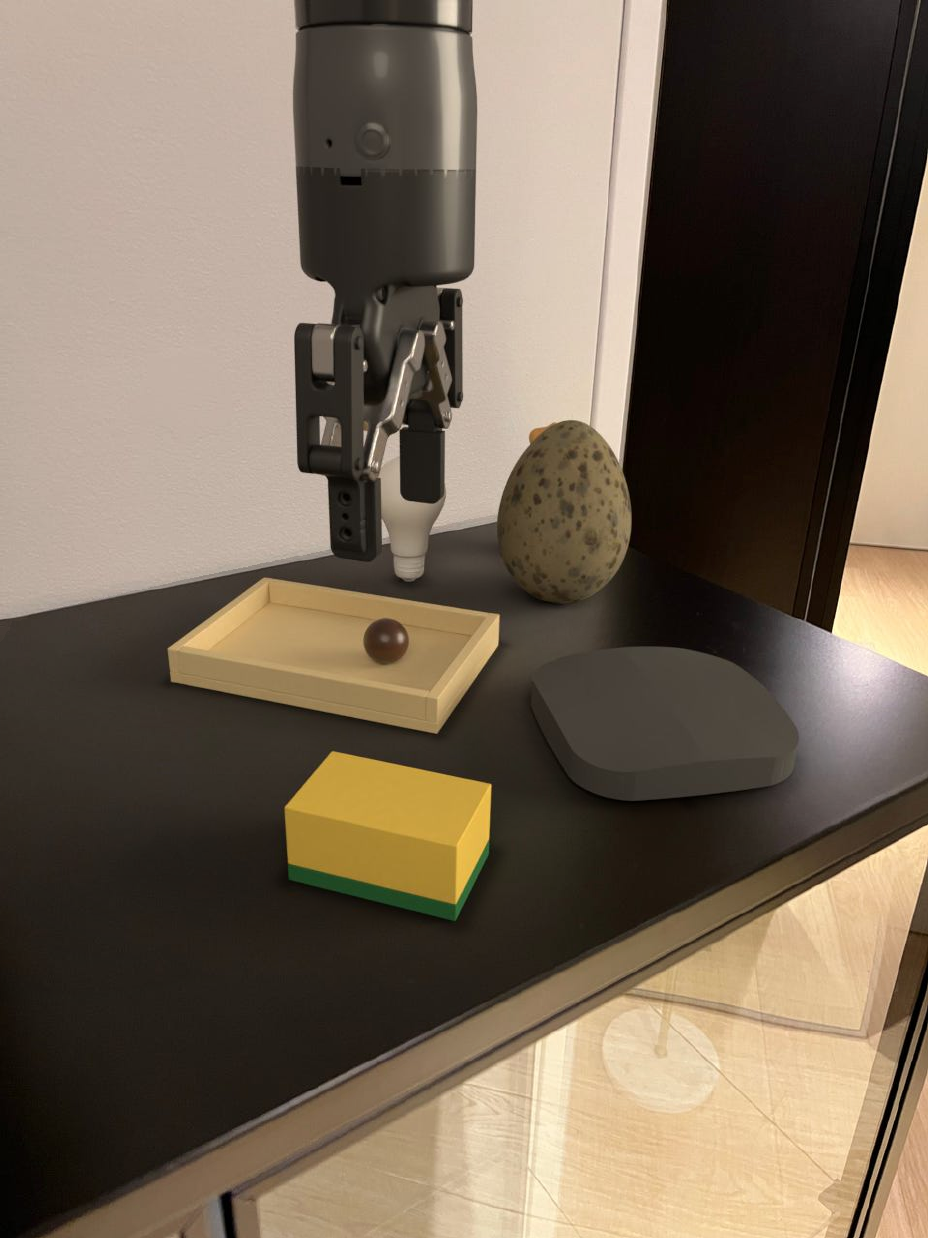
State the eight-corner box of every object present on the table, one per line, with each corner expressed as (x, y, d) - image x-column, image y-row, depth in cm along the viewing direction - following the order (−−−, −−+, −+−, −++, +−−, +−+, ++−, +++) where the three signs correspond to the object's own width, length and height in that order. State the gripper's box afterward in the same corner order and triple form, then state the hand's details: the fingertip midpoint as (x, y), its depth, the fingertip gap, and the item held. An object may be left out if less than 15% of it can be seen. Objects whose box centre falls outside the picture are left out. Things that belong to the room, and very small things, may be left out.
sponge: (288, 880, 52) (283, 807, 50) (334, 819, 56) (331, 750, 55) (455, 922, 49) (457, 846, 47) (489, 854, 54) (491, 783, 52)
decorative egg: (644, 620, 81) (663, 435, 75) (514, 631, 79) (523, 441, 73) (597, 570, 91) (611, 402, 84) (480, 578, 88) (485, 406, 82)
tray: (170, 682, 70) (166, 648, 69) (266, 606, 82) (264, 576, 81) (437, 734, 65) (437, 698, 64) (498, 645, 77) (499, 614, 75)
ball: (356, 667, 71) (355, 625, 70) (374, 648, 74) (373, 608, 73) (398, 674, 70) (398, 633, 69) (415, 655, 73) (415, 614, 72)
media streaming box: (582, 814, 57) (586, 769, 56) (516, 690, 70) (518, 651, 69) (817, 788, 60) (826, 744, 59) (713, 673, 73) (718, 636, 72)
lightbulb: (458, 585, 87) (461, 460, 82) (396, 600, 84) (396, 471, 79) (420, 562, 91) (421, 442, 87) (360, 576, 88) (358, 452, 84)
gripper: (369, 156, 49) (376, 478, 56) (217, 157, 37) (250, 569, 44) (518, 160, 47) (506, 493, 54) (409, 162, 35) (412, 593, 42)
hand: (391, 526), depth 49 cm, fingers open, 8 cm apart
